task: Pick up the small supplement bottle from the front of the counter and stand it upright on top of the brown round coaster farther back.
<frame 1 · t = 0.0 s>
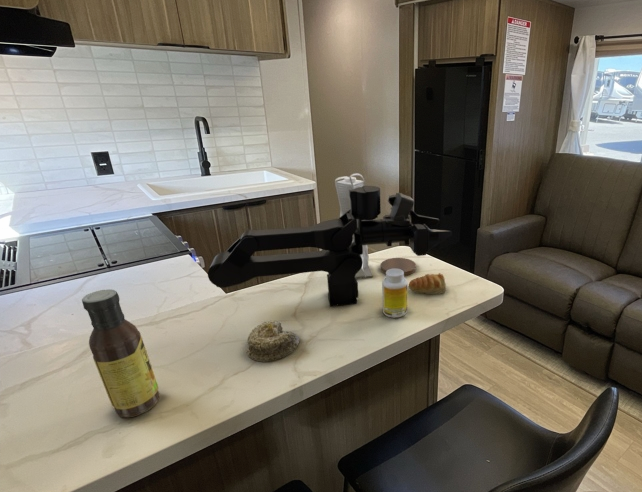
hand: (444, 226, 96), 17 cm above the countertop, tool horizontal, fingers open, 9 cm apart
supplement bottle: (394, 313, 92), on the countertop
skyscraper: (356, 275, 110), on the countertop
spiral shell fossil: (273, 347, 79), on the countertop
brown round coaster: (398, 268, 113), on the countertop
pastry: (429, 289, 102), on the countertop
sauce bottle: (138, 405, 64), on the countertop
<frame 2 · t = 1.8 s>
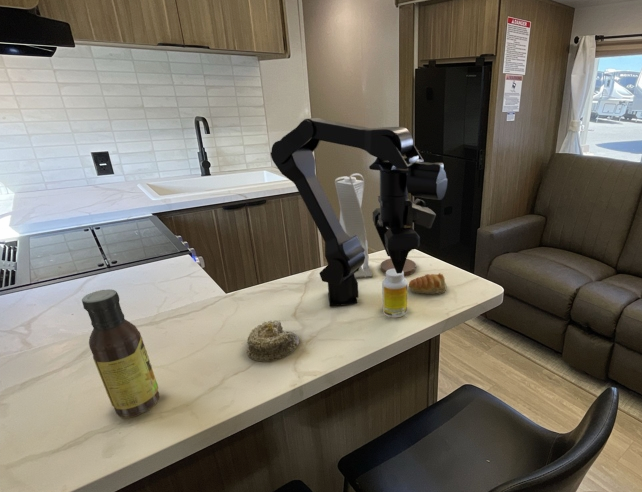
hand: (394, 264, 87), 12 cm above the countertop, tool pointing down, fingers open, 9 cm apart
nothing on the countertop moved.
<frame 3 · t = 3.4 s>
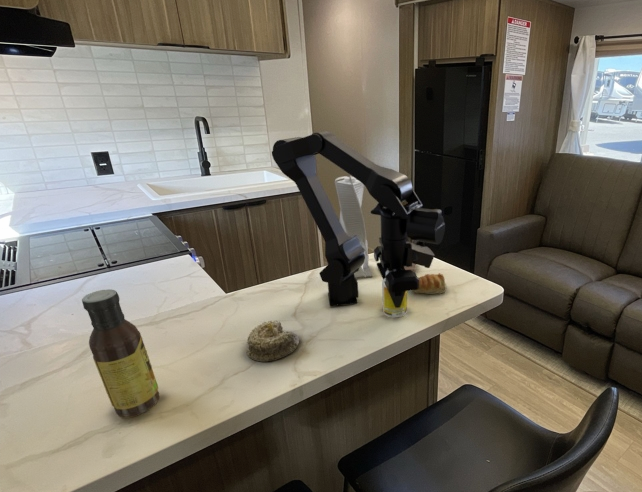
hand: (394, 300, 90), 3 cm above the countertop, tool pointing down, fingers closed on supplement bottle, 5 cm apart
supplement bottle: (395, 313, 92), on the countertop, touching gripper
everything else where it was.
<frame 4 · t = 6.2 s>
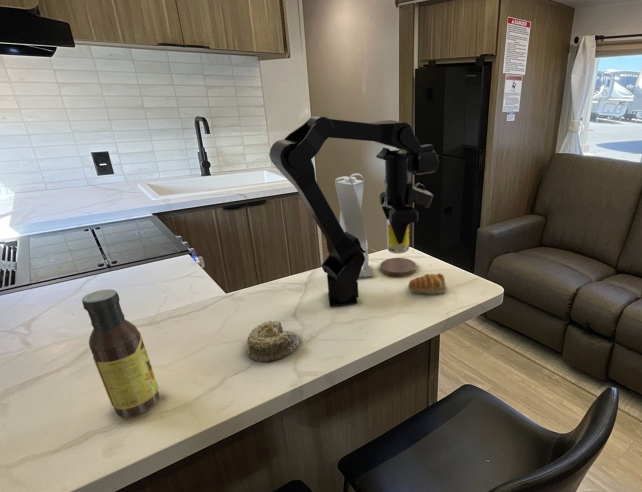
hand: (397, 239, 101), 12 cm above the countertop, tool pointing down, fingers closed on supplement bottle, 5 cm apart
supplement bottle: (398, 251, 102), point 9 cm above the countertop, touching gripper
everything else where it was.
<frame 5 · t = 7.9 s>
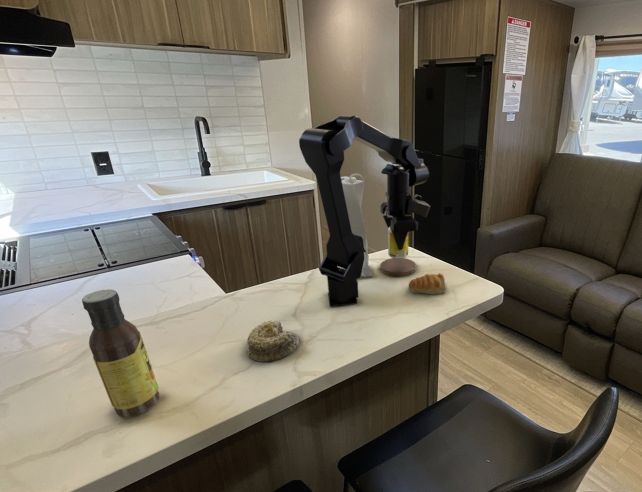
hand: (397, 245, 110), 7 cm above the countertop, tool pointing down, fingers closed on supplement bottle, 5 cm apart
supplement bottle: (398, 256, 112), point 4 cm above the countertop, touching gripper
everything else where it was.
when the fingers open (4 cm above the countertop, at t = 9.2 s): supplement bottle stays where it is, resting on brown round coaster.
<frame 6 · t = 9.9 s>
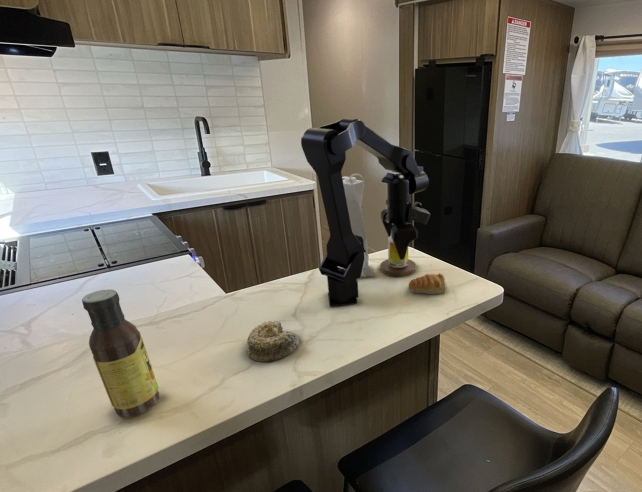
hand: (398, 252, 111), 5 cm above the countertop, tool pointing down, fingers open, 9 cm apart
supplement bottle: (398, 265, 113), point 1 cm above the countertop, touching brown round coaster
everything else where it was.
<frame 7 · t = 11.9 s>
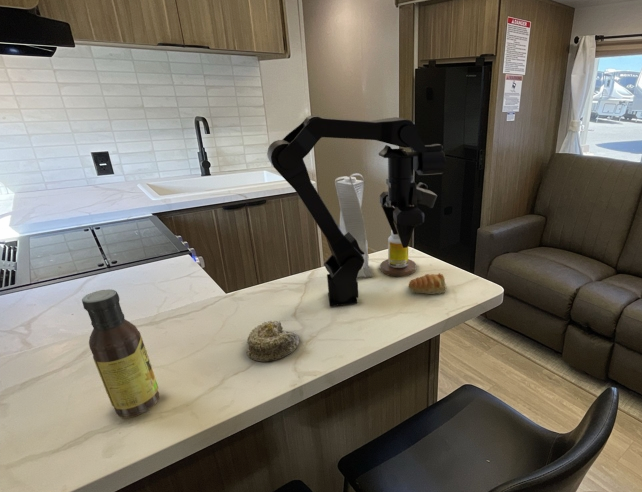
hand: (400, 240, 98), 13 cm above the countertop, tool pointing down, fingers open, 9 cm apart
nothing on the countertop moved.
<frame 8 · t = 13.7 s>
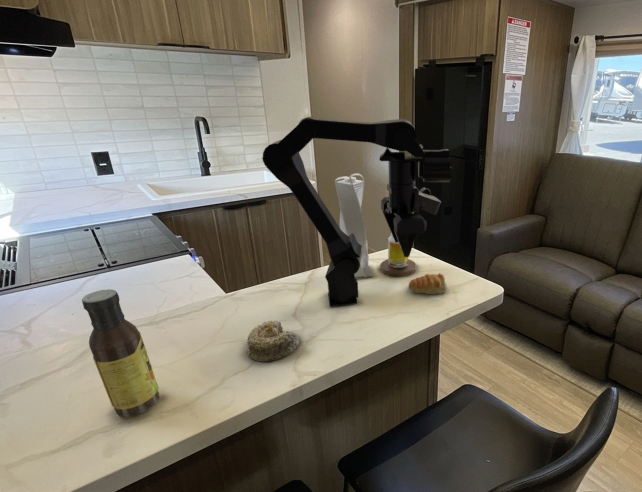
hand: (401, 249, 92), 13 cm above the countertop, tool pointing down, fingers open, 9 cm apart
nothing on the countertop moved.
at the end: supplement bottle 0.1 cm off-centre on the brown round coaster, point 1.0 cm above the brown round coaster's base; supplement bottle tilted 0°; the gripper is holding nothing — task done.
